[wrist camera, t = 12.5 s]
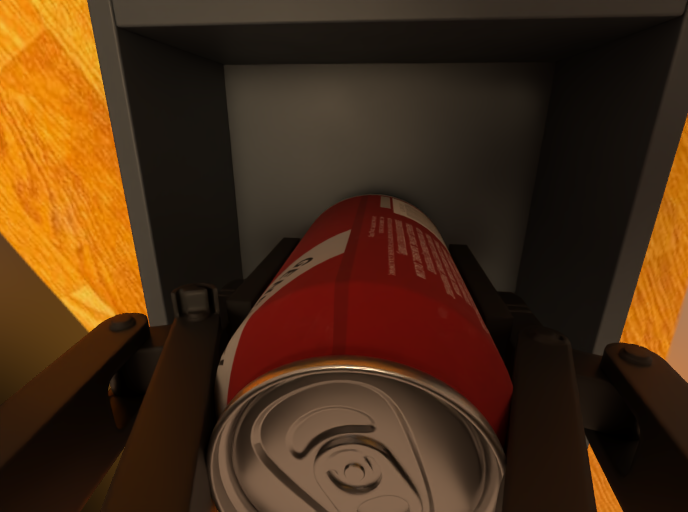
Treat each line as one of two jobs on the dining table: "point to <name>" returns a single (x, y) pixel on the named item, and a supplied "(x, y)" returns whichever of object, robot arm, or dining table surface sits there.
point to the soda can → (361, 378)
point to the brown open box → (401, 134)
